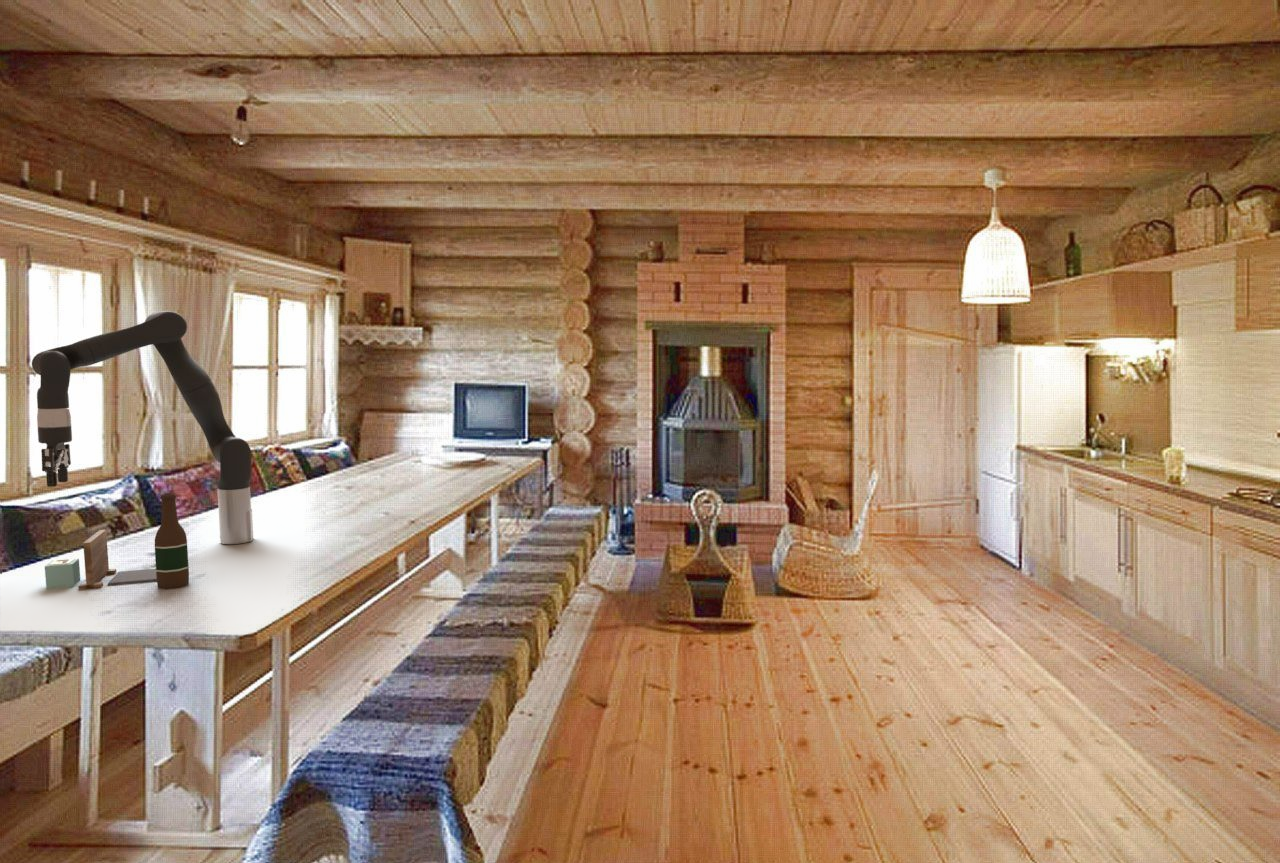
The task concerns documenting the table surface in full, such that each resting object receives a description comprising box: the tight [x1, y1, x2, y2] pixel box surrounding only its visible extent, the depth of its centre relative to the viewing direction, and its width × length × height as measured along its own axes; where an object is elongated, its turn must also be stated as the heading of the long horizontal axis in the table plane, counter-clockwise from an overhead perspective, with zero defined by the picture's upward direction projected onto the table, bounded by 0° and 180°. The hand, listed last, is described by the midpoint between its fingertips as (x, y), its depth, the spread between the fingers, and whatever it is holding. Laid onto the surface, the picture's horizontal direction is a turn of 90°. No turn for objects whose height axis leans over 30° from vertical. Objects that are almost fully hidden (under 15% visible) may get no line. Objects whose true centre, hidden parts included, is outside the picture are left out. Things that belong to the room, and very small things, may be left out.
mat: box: [107, 568, 157, 586], centre depth 224 cm, size 12×12×1 cm
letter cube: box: [44, 558, 81, 590], centre depth 217 cm, size 6×6×6 cm
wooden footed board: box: [77, 529, 117, 591], centre depth 220 cm, size 5×16×12 cm, turn 20°
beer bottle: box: [154, 492, 190, 590], centre depth 215 cm, size 8×8×24 cm
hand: (57, 484), depth 228 cm, fingers open, 8 cm apart
